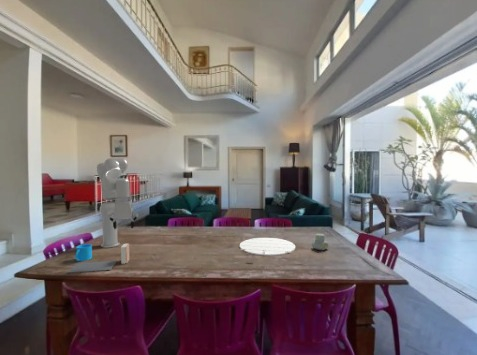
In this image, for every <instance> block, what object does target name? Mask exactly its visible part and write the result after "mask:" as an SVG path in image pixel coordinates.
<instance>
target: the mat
mask: <svg viewBox="0 0 477 355" xmlns="http://www.w3.org/2000/svg"><path fill="white" fill-rule="evenodd" d="M116 262H118V260H106V261H90V262H89V261H88V262H86V261H85V262H77V263H76V264H75V265H74V266H73V267H71V268H70V269H69V270H68V271H67V273H66V274H80V272H81V273H93V271H96V272H107V271H106V270H110V271H111V270H112V269H113V268H114V267H115V265H117V263H116ZM112 267H113V268H112Z"/></svg>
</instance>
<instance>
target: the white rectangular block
mask: <svg viewBox="0 0 477 355" xmlns="http://www.w3.org/2000/svg"><path fill="white" fill-rule="evenodd" d="M120 259H121V261H120V262H121V264H122V265H126V264H125V263H127V264H128V263H129V261H130V243H123V245H121V246H120Z"/></svg>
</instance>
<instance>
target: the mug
mask: <svg viewBox="0 0 477 355" xmlns="http://www.w3.org/2000/svg"><path fill="white" fill-rule="evenodd" d="M92 246H93V245H92V244H89V243H85V244H80V245H78V246H76V252H75V255H74V258H75V260H76V261H77V262H86V260H87V261H90V260H91V258H93V247H92ZM89 259H90V260H89Z"/></svg>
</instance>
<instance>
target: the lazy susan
mask: <svg viewBox="0 0 477 355" xmlns="http://www.w3.org/2000/svg"><path fill="white" fill-rule="evenodd" d="M239 249H240V251H243V252H245V253H248V254H252V255H256V256H265V257H266V256H272V257H275V256H283V255H287V254H291V253H293V252H294V251H295V250H296V245H295V243H294V242H292V241H290V240H285V239H282V238H276V237H254V238H249V239H246V240H243V241H242V242H240V244H239Z"/></svg>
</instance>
